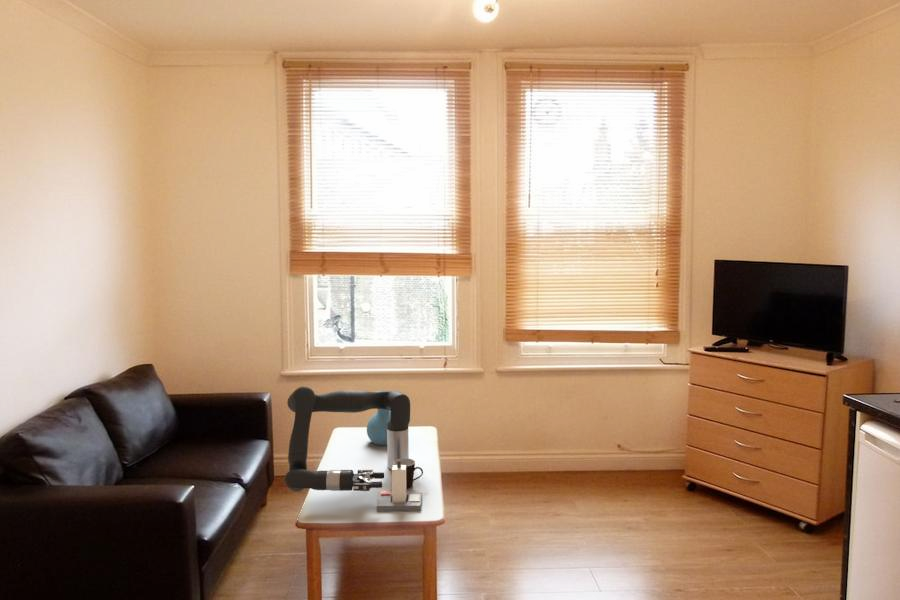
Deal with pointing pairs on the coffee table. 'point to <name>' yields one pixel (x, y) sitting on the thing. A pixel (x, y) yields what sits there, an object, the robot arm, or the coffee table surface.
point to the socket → (410, 505)
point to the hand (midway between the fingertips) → (383, 479)
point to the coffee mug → (409, 471)
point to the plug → (399, 483)
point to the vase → (379, 426)
